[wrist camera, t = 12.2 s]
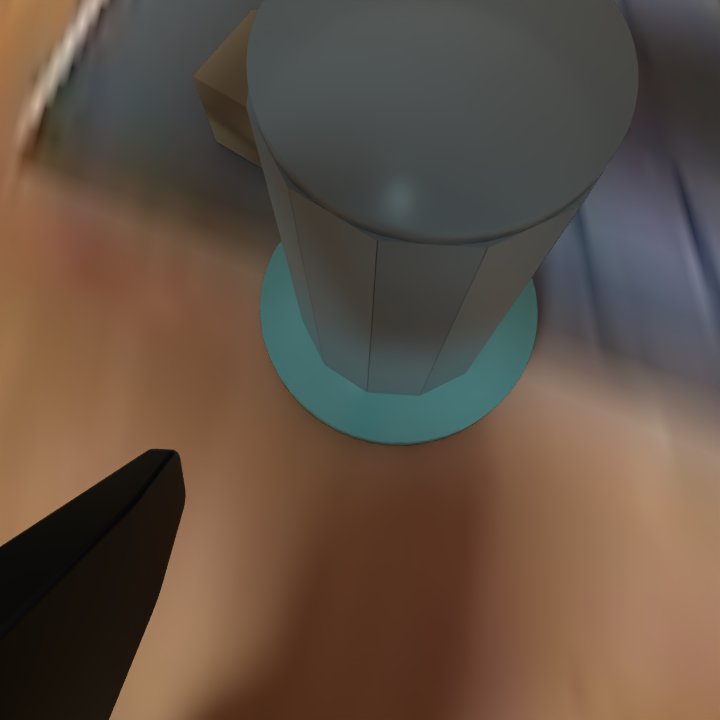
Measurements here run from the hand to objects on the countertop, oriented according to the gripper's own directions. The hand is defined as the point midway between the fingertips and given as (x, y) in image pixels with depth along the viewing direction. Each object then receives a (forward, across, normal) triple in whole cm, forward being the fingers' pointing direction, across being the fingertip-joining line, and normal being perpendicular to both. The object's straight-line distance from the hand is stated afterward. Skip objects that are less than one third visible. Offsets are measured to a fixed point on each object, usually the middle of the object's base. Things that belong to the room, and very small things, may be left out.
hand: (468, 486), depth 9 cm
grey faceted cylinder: (+14, +1, +3) cm, 15 cm away
